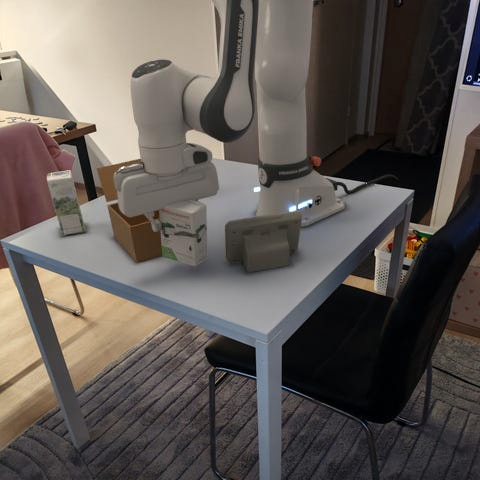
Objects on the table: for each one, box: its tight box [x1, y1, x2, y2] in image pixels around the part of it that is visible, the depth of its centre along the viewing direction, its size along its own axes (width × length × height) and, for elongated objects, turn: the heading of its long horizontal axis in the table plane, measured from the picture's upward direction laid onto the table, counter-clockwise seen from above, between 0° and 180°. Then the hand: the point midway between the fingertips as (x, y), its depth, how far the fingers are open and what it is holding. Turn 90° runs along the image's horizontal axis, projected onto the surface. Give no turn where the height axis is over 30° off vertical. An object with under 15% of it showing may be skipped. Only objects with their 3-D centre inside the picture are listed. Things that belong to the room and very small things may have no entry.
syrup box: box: [46, 169, 86, 237], centre depth 129 cm, size 6×6×14 cm
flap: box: [96, 158, 141, 203], centre depth 124 cm, size 8×14×1 cm
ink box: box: [159, 200, 209, 267], centre depth 106 cm, size 9×5×12 cm, turn 60°
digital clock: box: [224, 211, 302, 273], centre depth 109 cm, size 16×9×11 cm, turn 91°
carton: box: [107, 202, 162, 263], centre depth 122 cm, size 16×14×8 cm
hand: (174, 225), depth 107 cm, fingers closed on ink box, 6 cm apart
